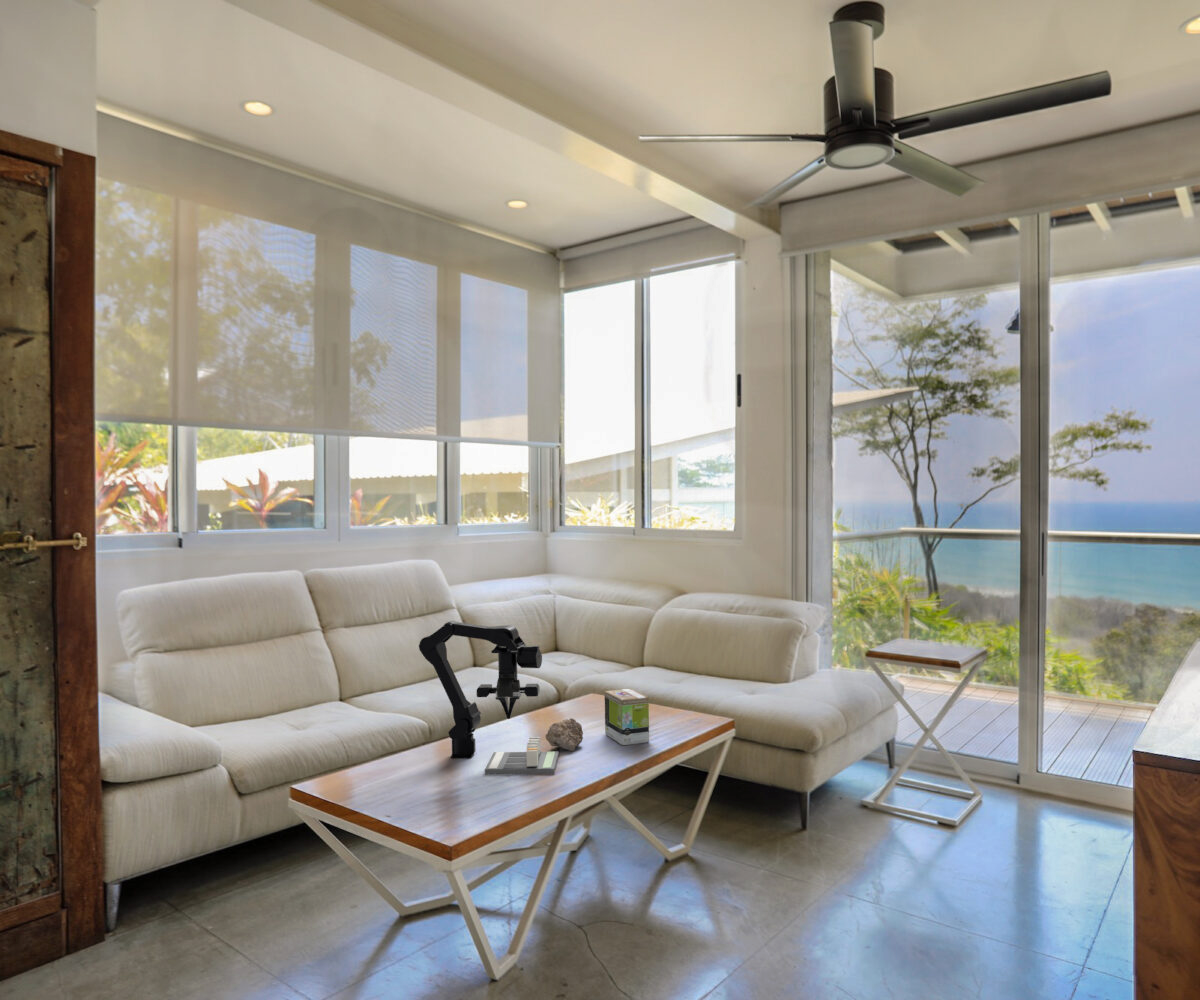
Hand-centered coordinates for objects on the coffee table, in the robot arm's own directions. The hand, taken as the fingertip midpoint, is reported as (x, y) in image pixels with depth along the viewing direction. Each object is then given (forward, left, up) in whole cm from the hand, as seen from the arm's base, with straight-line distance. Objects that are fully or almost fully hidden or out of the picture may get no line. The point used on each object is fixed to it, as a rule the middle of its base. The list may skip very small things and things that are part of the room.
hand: (508, 718), depth 252 cm
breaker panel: (+5, -7, -12) cm, 15 cm away
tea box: (+36, +19, -12) cm, 43 cm away
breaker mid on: (+8, -7, -10) cm, 15 cm away
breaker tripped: (+8, -13, -10) cm, 18 cm away
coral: (+17, +9, -12) cm, 23 cm away
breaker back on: (+8, -2, -10) cm, 13 cm away
